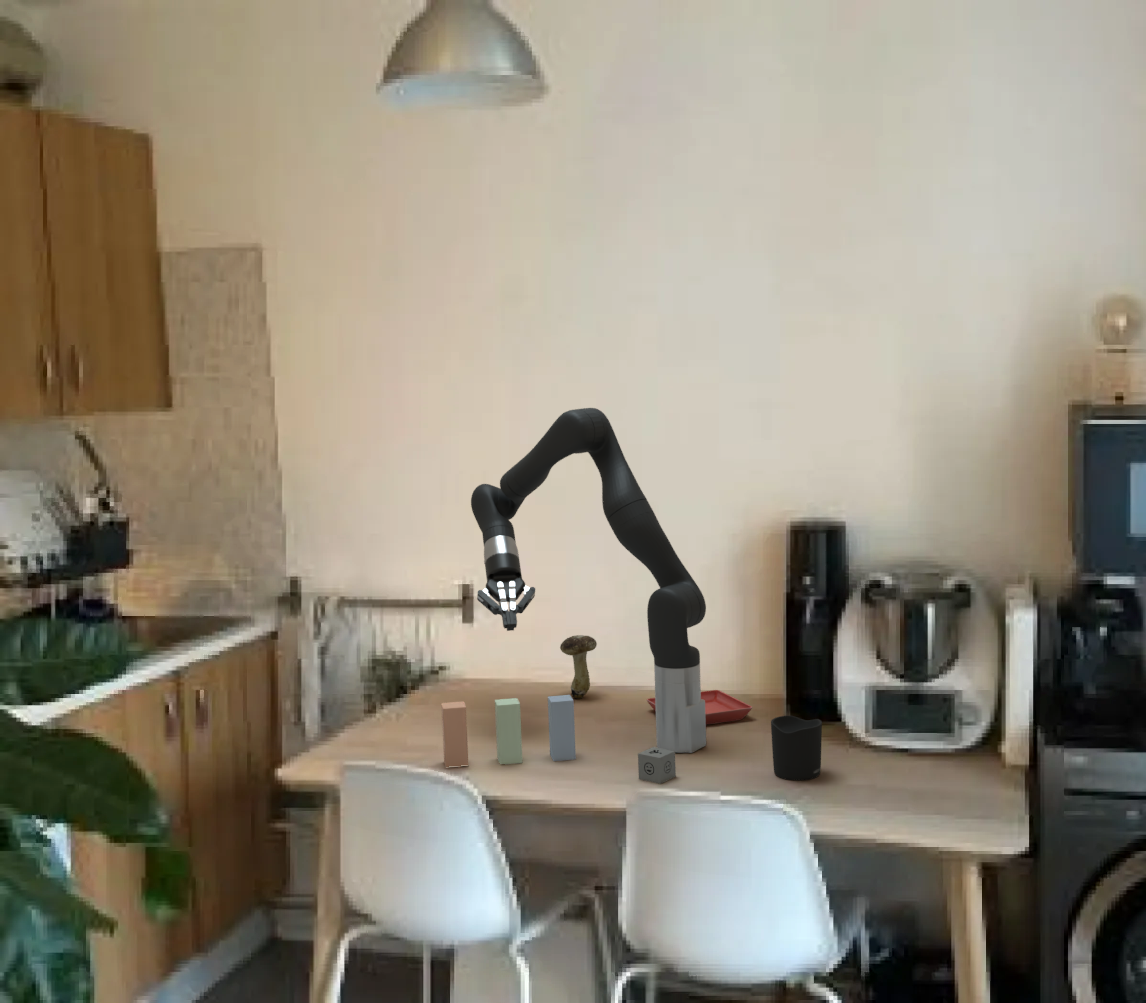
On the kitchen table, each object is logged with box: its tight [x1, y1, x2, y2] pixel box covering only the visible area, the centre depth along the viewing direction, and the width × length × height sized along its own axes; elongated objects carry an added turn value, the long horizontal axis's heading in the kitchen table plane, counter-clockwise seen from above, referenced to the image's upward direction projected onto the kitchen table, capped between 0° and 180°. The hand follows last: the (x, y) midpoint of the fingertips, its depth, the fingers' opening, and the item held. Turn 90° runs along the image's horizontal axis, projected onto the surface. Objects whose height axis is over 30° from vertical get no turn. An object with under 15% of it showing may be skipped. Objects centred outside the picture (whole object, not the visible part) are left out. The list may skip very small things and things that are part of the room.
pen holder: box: [770, 715, 823, 781], centre depth 240 cm, size 9×9×10 cm
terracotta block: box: [440, 701, 469, 768], centre depth 254 cm, size 4×4×12 cm
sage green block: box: [494, 697, 523, 765], centre depth 255 cm, size 4×4×12 cm
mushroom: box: [559, 634, 598, 699], centre depth 300 cm, size 9×9×15 cm
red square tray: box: [646, 689, 753, 726], centre depth 283 cm, size 18×18×3 cm
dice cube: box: [637, 746, 677, 785], centre depth 241 cm, size 5×5×5 cm
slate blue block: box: [547, 694, 577, 762], centre depth 256 cm, size 4×4×12 cm
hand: (510, 628), depth 266 cm, fingers closed
